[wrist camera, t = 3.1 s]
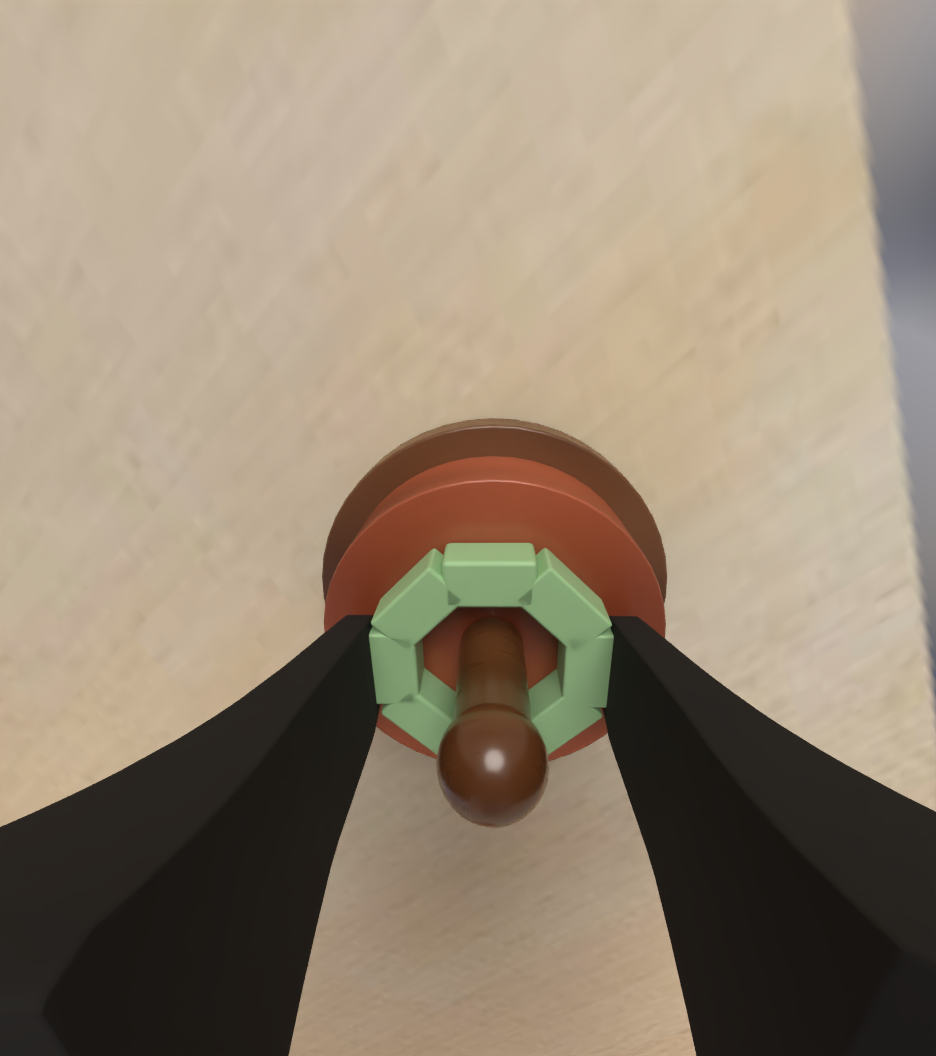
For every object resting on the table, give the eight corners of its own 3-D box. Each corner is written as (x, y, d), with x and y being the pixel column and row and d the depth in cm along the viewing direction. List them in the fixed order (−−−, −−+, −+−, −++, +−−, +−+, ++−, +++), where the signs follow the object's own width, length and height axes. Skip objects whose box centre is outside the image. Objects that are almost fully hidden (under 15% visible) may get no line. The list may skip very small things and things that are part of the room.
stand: (636, 707, 15) (751, 1001, 8) (352, 703, 15) (248, 979, 9) (676, 415, 12) (922, 521, 5) (311, 420, 12) (94, 524, 5)
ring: (594, 731, 12) (603, 765, 11) (388, 727, 12) (380, 761, 11) (613, 540, 10) (626, 562, 9) (368, 541, 10) (355, 562, 9)
